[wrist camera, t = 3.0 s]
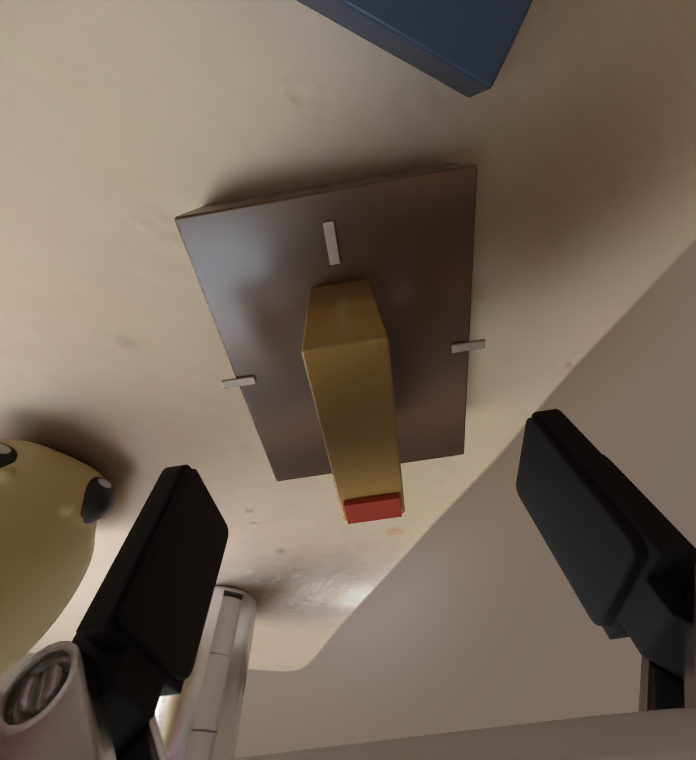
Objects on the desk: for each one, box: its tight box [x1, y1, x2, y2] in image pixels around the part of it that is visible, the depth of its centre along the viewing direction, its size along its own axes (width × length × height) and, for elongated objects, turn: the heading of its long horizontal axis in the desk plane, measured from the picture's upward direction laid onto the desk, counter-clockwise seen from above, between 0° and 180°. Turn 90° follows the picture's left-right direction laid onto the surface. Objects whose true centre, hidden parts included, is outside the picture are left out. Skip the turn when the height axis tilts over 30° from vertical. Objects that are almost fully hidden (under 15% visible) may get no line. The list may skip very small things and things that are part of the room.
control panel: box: [175, 163, 486, 481], centre depth 16 cm, size 13×11×3 cm
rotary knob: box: [301, 279, 405, 524], centre depth 12 cm, size 7×2×5 cm, turn 9°
